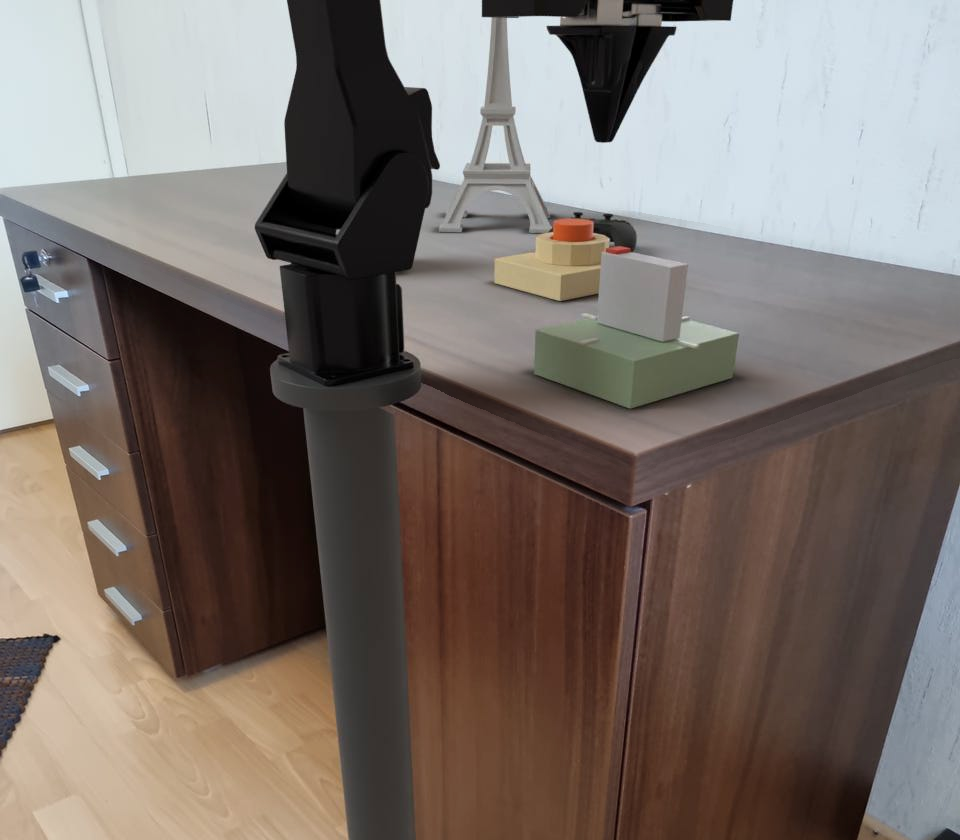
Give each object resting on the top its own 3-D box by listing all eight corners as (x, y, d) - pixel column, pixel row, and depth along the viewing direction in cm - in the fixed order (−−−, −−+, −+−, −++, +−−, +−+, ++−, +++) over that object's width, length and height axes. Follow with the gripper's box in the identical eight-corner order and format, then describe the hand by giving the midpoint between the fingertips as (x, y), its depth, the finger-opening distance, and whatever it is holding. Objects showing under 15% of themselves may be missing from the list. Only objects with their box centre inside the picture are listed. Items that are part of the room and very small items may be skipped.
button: (571, 247, 82) (572, 226, 81) (544, 241, 84) (545, 221, 83) (600, 243, 84) (602, 222, 83) (573, 237, 86) (574, 217, 85)
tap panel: (636, 412, 56) (641, 360, 55) (526, 372, 63) (528, 325, 61) (741, 380, 62) (748, 332, 60) (629, 346, 68) (633, 302, 67)
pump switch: (560, 301, 80) (562, 252, 78) (494, 283, 86) (494, 237, 84) (646, 284, 86) (650, 237, 84) (579, 268, 92) (581, 224, 89)
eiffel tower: (552, 233, 108) (565, -93, 91) (438, 231, 108) (432, -93, 92) (549, 214, 119) (561, -79, 103) (446, 213, 120) (442, -79, 103)
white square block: (679, 338, 59) (689, 259, 57) (662, 342, 58) (671, 263, 56) (613, 319, 63) (619, 245, 61) (596, 322, 62) (601, 248, 60)
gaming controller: (541, 243, 97) (554, 194, 98) (549, 274, 102) (562, 227, 103) (631, 250, 94) (644, 199, 95) (635, 281, 99) (647, 232, 100)
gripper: (631, -113, 68) (613, 128, 76) (427, -140, 58) (432, 140, 67) (755, -130, 61) (720, 138, 69) (546, -165, 51) (535, 153, 59)
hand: (603, 142), depth 66 cm, fingers closed
